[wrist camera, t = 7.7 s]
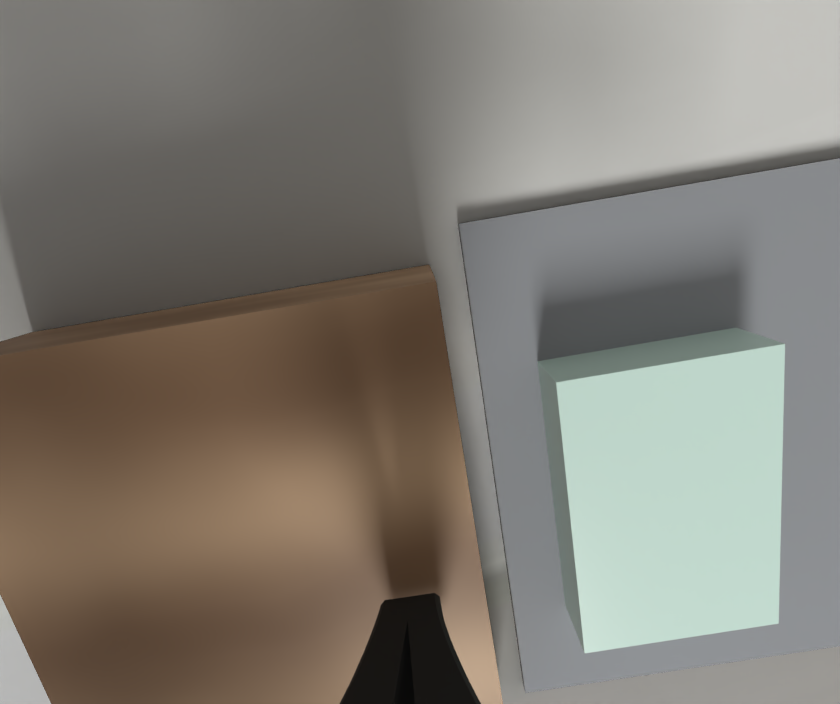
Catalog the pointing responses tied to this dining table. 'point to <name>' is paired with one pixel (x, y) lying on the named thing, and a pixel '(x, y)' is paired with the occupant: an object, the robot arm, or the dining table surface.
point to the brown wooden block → (236, 495)
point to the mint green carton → (667, 486)
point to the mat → (653, 321)
